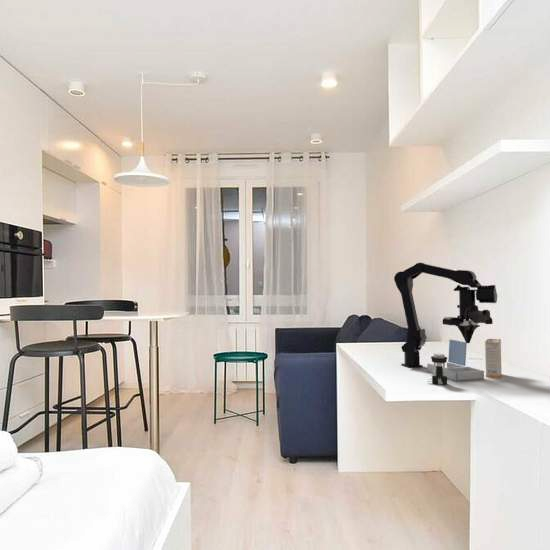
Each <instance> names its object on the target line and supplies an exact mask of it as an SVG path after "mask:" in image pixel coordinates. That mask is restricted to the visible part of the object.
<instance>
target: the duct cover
mask: <svg viewBox="0 0 550 550" xmlns="http://www.w3.org/2000/svg"><path fill="white" fill-rule="evenodd" d="M467 345H468V343H467V342H466V341H460V340H455V339H449V344H448V357H447V360H448V361H447V363H453V364H456V365H460V366H464V367H466V363H467V361H466V360H467Z"/></svg>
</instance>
